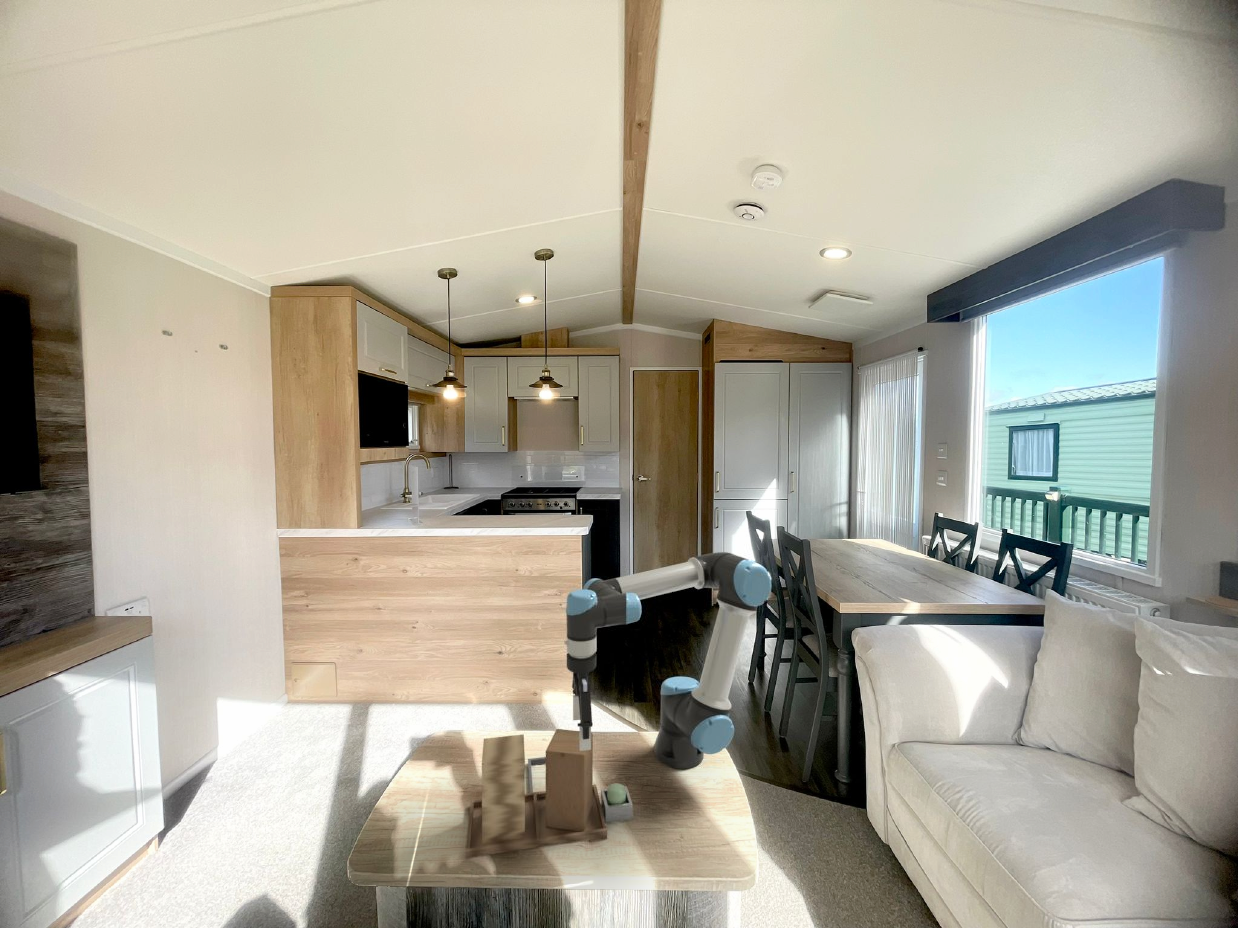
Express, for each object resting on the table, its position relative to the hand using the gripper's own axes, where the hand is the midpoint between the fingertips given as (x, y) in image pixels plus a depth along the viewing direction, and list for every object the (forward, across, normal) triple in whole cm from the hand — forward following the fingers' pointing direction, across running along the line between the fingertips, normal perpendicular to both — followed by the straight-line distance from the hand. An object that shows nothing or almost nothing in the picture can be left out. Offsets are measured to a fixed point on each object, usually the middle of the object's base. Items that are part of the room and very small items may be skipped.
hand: (581, 733), depth 133 cm
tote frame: (+22, -16, -5) cm, 28 cm away
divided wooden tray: (+22, 0, -12) cm, 25 cm away
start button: (+20, 0, +9) cm, 22 cm away
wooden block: (+22, 0, -3) cm, 22 cm away
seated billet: (+21, 0, -20) cm, 29 cm away
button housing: (+22, 0, +9) cm, 24 cm away
